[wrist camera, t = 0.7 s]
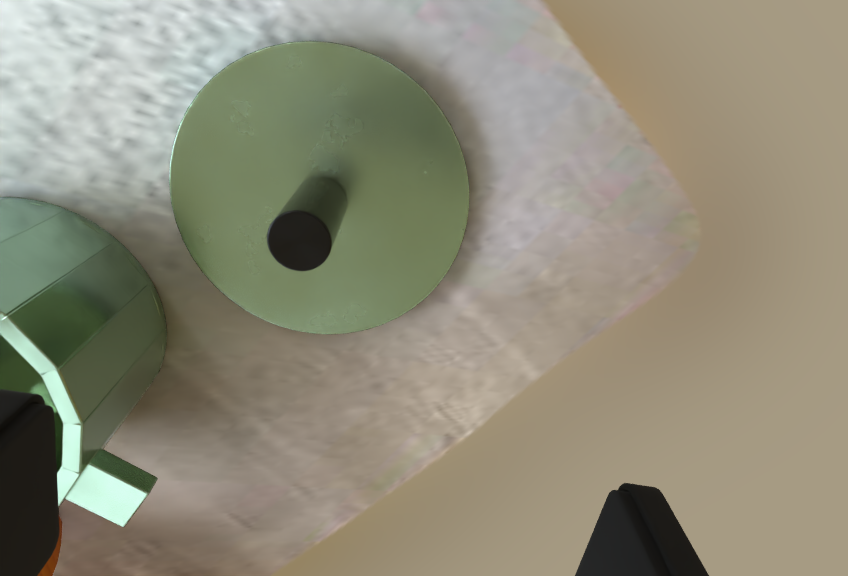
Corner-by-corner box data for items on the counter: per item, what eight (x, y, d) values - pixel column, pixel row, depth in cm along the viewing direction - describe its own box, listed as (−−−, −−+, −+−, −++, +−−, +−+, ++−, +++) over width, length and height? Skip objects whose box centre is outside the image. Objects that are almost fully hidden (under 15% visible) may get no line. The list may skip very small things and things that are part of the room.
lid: (277, -32, 24) (230, -56, 18) (526, 169, 27) (559, 207, 21) (126, 223, 28) (47, 275, 22) (359, 369, 31) (346, 449, 25)
